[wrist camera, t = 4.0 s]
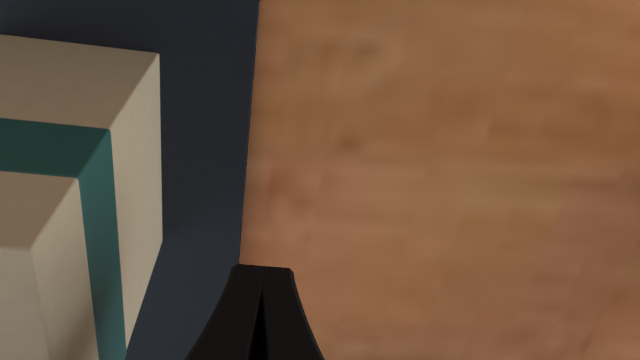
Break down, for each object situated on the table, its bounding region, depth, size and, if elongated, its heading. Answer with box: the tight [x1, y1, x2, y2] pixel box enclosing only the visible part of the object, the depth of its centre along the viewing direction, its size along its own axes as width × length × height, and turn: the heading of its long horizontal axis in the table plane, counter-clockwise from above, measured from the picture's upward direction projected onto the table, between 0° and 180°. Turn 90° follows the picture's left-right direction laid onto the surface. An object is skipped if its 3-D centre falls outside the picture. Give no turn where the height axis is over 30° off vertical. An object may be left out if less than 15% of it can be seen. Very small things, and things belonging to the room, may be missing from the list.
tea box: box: [0, 34, 163, 360], centre depth 13 cm, size 5×7×9 cm, turn 172°
